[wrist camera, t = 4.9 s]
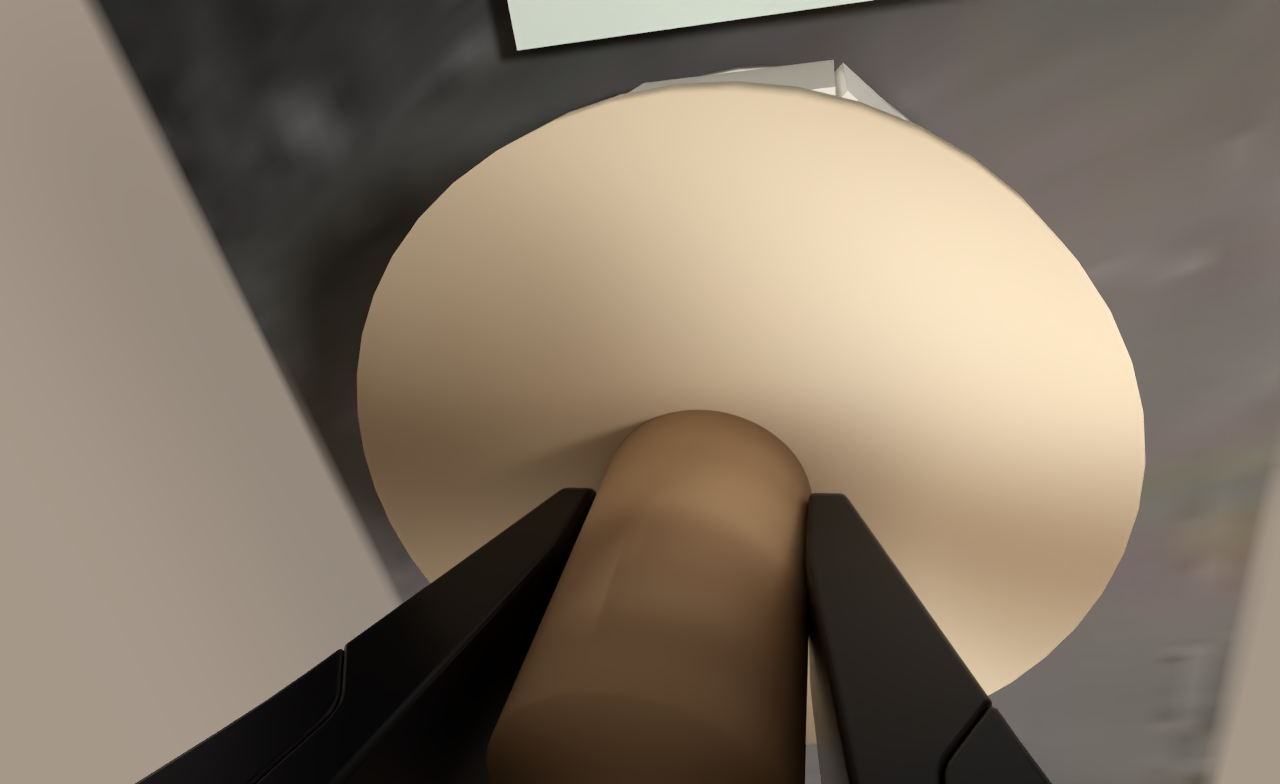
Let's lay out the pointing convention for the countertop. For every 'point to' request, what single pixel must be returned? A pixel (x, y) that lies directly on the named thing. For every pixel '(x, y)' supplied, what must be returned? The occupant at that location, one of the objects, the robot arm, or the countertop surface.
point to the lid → (744, 411)
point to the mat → (633, 16)
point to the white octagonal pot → (795, 81)
